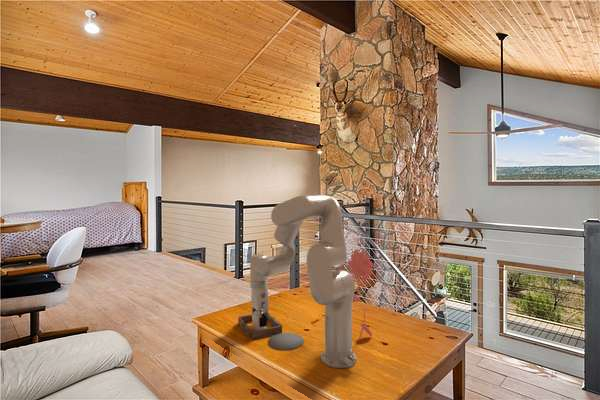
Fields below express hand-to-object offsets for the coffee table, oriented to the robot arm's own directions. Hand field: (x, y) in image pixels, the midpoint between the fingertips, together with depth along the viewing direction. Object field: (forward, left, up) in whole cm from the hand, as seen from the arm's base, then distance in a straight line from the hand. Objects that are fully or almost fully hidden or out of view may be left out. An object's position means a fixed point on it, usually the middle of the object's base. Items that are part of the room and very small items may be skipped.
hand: (259, 322), depth 147 cm
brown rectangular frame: (0, 0, -3) cm, 3 cm away
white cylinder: (0, 0, -3) cm, 3 cm away
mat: (-17, -5, -3) cm, 18 cm away
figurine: (-23, -37, -3) cm, 44 cm away
